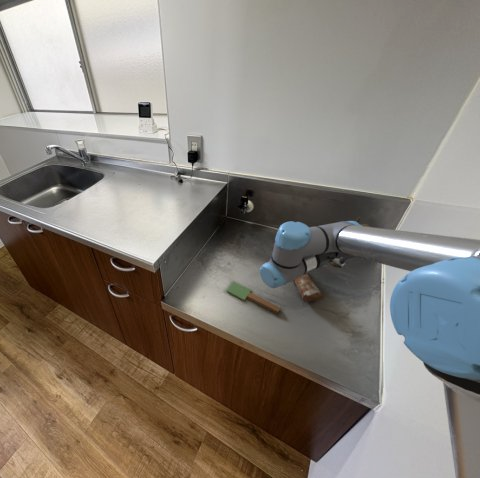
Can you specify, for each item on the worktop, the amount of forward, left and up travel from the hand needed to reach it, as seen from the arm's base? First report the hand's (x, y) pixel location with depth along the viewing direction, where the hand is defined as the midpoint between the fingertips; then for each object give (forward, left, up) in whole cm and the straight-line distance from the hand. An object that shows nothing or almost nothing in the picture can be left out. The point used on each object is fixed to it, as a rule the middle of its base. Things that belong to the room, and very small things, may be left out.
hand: (359, 233), depth 81 cm
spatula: (+20, +29, -19) cm, 40 cm away
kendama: (+2, +4, -12) cm, 13 cm away
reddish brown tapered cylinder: (+10, +13, -19) cm, 25 cm away
